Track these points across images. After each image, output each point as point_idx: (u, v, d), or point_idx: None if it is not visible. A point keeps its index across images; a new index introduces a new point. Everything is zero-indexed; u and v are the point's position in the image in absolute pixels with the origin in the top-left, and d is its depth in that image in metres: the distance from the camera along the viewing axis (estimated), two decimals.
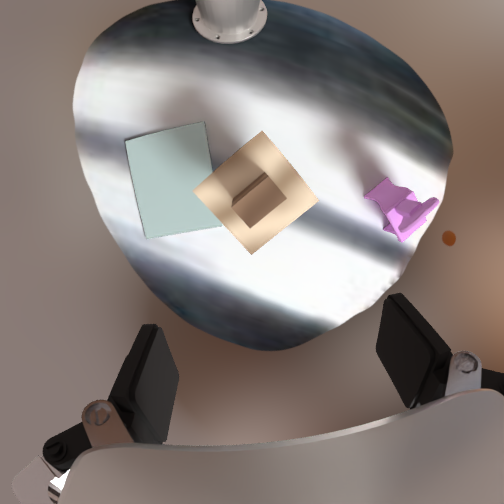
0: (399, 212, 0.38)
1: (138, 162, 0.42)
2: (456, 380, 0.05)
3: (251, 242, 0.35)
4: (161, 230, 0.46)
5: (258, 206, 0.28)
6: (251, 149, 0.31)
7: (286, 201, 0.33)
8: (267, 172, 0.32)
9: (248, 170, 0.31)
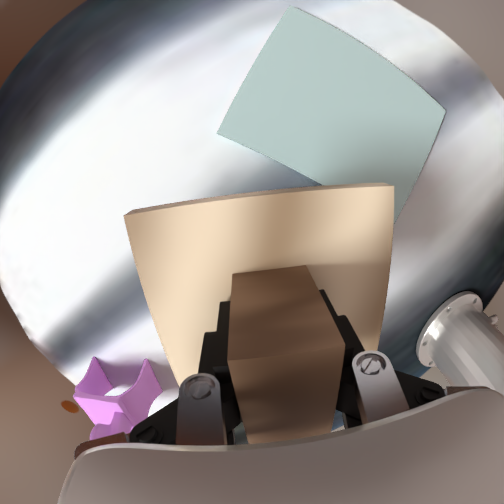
0: (116, 420, 0.22)
1: (411, 97, 0.19)
2: (368, 385, 0.06)
3: (157, 237, 0.10)
4: (286, 34, 0.17)
5: (280, 404, 0.07)
6: None
7: None
8: None
9: None
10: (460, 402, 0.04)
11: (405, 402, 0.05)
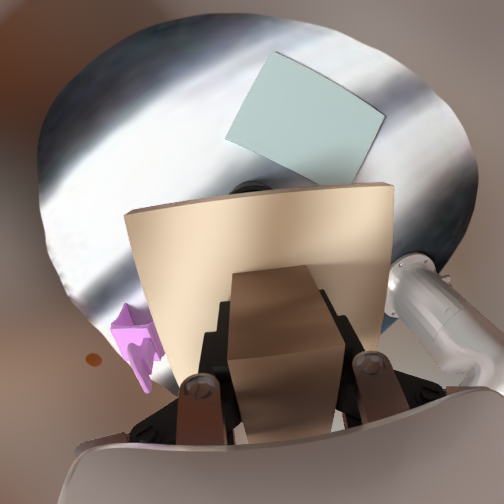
0: (144, 343, 0.35)
1: (355, 109, 0.32)
2: (368, 385, 0.06)
3: (157, 236, 0.10)
4: (269, 72, 0.30)
5: (280, 404, 0.07)
6: None
7: None
8: None
9: None
10: (460, 402, 0.04)
11: (405, 402, 0.05)
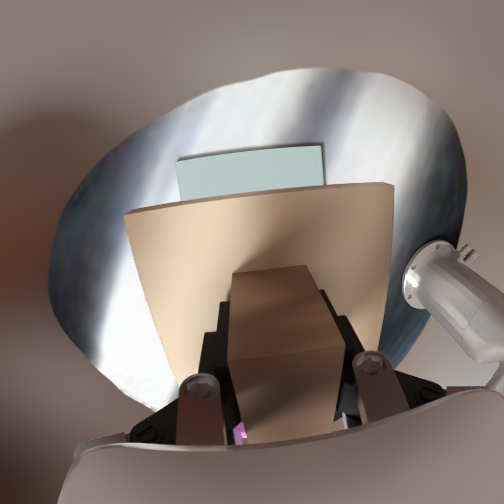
0: None
1: (288, 162, 0.32)
2: (368, 385, 0.06)
3: (157, 236, 0.10)
4: (187, 185, 0.33)
5: (281, 404, 0.07)
6: None
7: None
8: None
9: None
10: (460, 402, 0.04)
11: (405, 402, 0.05)
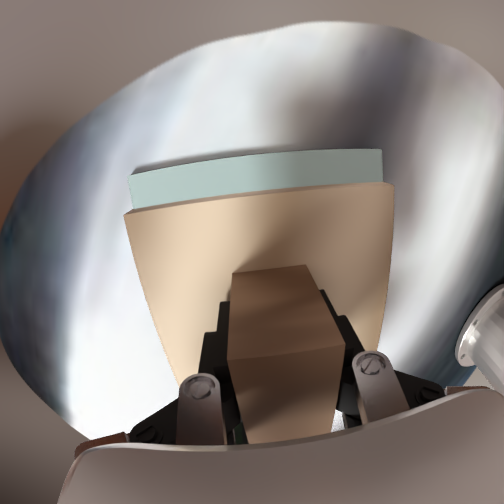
0: None
1: (327, 176, 0.18)
2: (368, 385, 0.06)
3: (157, 236, 0.10)
4: None
5: (280, 404, 0.07)
6: None
7: None
8: None
9: None
10: (460, 402, 0.04)
11: (405, 402, 0.05)
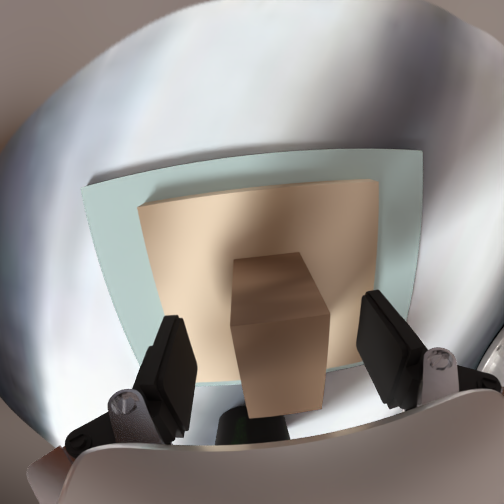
0: None
1: None
2: (432, 378, 0.06)
3: (167, 226, 0.12)
4: (110, 243, 0.13)
5: (276, 371, 0.09)
6: (353, 335, 0.15)
7: (218, 342, 0.14)
8: None
9: None
10: (460, 402, 0.04)
11: None
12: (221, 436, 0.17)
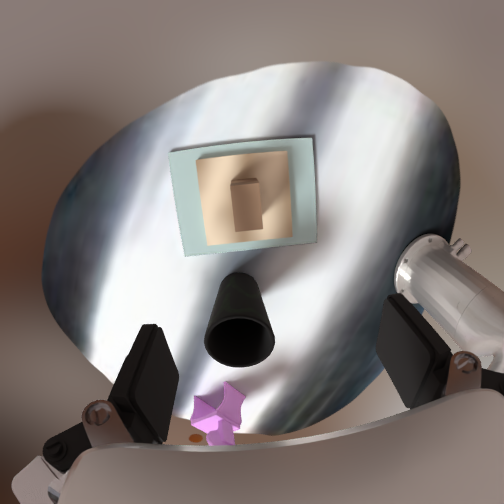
0: (220, 425, 0.40)
1: None
2: (456, 380, 0.05)
3: (206, 167, 0.32)
4: (179, 176, 0.33)
5: (244, 205, 0.28)
6: (284, 219, 0.34)
7: (223, 219, 0.34)
8: None
9: (269, 205, 0.34)
10: (460, 402, 0.04)
11: None
12: (221, 287, 0.37)
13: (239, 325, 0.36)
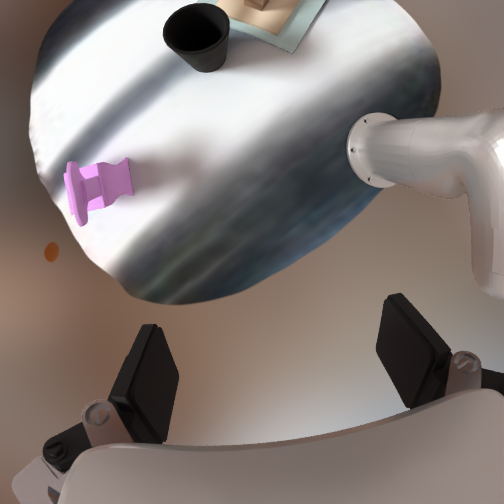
0: (91, 177, 0.31)
1: None
2: (456, 380, 0.05)
3: None
4: None
5: None
6: (278, 21, 0.30)
7: (236, 1, 0.28)
8: (259, 11, 0.29)
9: (273, 9, 0.29)
10: (460, 402, 0.04)
11: None
12: None
13: None
